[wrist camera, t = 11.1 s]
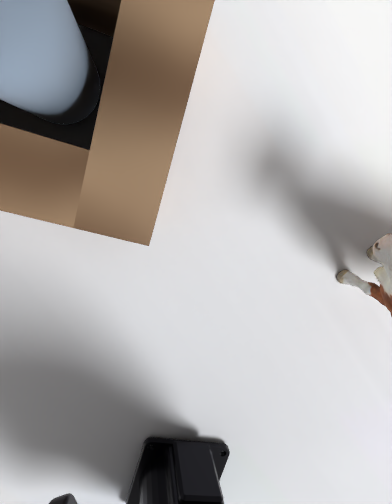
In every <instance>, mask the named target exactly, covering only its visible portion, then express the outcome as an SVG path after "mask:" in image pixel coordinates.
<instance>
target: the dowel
mask: <svg viewBox="0 0 392 504" xmlns="http://www.w3.org/2000/svg"><path fill="white" fill-rule="evenodd" d="M99 94H100V79H99V75H98V72H97V69H96V66H95V64H94V62H93V59H92V57H91V55H90V52H89V50H88V48H87V45H86V43H85V41H84V39H83V36H82V34H81V32H80V29H79V27H78V25H77V22H76V20H75V18H74V15H73V13H72V11H71V8H70V6H69V4H68V1H67V0H0V99H1V100H3V101H5V102H7V103H9V104H12V105H14V106H16V107H18V108H20V109H22V110H25V111H27V112H29V113H31V114H33V115H35V116H38V117H40V118H42V119H44V120H46V121H49V122H52V123H55V124H65V125H66V124H73V123H76V122H79V121H81V120H83V119H84V118H86V117H87V116H88V115H89V114H90V113H91V112H92V111H93V109H94V108H95V106H96V104H97V102H98V99H99Z"/></svg>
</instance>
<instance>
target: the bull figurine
mask: <svg viewBox="0 0 392 504" xmlns="http://www.w3.org/2000/svg"><path fill="white" fill-rule="evenodd" d="M367 255H368V257H369V258H370V259H371V260H373V261H375V262H379V263H380V264H382V265H383V267H379V268H377V269H376V270H375V271H374V274H375V276H376V278H377V279H378V281H379V282H380V287H379V286H378V285H376V284H375V283H371V282H367V281H364V280H362V279H360V278H359V277H358V276H356V275H355V274H353V273H351V272H349V271H348V270H342V271H341V272H339V274H338V276H337V280H338V282H339V283H342V284H346V285H351V286H355V287H358V288H360V289H361V290H362V291H363V292H364V293H365V294H367V295H369V296H372V297H373V298H375V299H376V300H378V301H379V302H380V303H381V304H382V305H384V306H386V307H387V309H388V310H389V311H390V312H391V316H392V234H386V235H385V236H383V237H382V238H380V239H379V240H377V241H376V242H375V243H374V245H373V246H372V247H370V248H369V249H368V251H367Z"/></svg>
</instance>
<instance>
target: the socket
mask: <svg viewBox="0 0 392 504" xmlns="http://www.w3.org/2000/svg"><path fill="white" fill-rule="evenodd" d="M67 1H68V4H69V6H70V8H71V11H72V13H73V15H74V18H75V20H76V22H77V23H78V24H80V25H83V26H85V27H88V28H91V29H93V30H96V31H98V32H101V33H103V34H106V35H108V36H111V37H114V38H113V42H112V47H111V52H110V57H109V61H108V66H107V71H106V76H105V80H104V85H103V90H102V94H101V99H100V104H99V109H98V113H97V118H96V123H95V128H94V132H93V137H92V142H91V147H90V150H89V149H85V148H82V147H79V146H75V145H72V144H69V143H65V142H62V141H59V140H55V139H52V138H49V137H45V136H42V135H39V134H35V133H32V132H29V131H25V130H22V129H19V128H15V127H12V126H9V125H5V124H2V123H0V210H1V211H5V212H9V213H13V214H18V215H22V216H26V217H30V218H34V219H38V220H43V221H47V222H51V223H55V224H59V225H63V226H68V227H72V228H76V229H80V230H84V231H88V232H93V233H97V234H101V235H105V236H109V237H113V238H118V239H122V240H126V241H130V242H134V243H138V244H143V245H147V246H149V244H150V240H151V236H152V232H153V229H154V225H155V221H156V217H157V214H158V210H159V206H160V203H161V199H162V195H163V191H164V188H165V184H166V180H167V176H168V173H169V169H170V165H171V161H172V158H173V154H174V150H175V146H176V143H177V139H178V135H179V131H180V128H181V124H182V120H183V116H184V113H185V109H186V105H187V102H188V98H189V94H190V90H191V87H192V83H193V79H194V75H195V72H196V68H197V64H198V60H199V57H200V53H201V49H202V45H203V42H204V38H205V34H206V30H207V27H208V23H209V19H210V15H211V12H212V8H213V4H214V1H215V0H67Z"/></svg>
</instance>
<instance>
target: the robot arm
mask: <svg viewBox="0 0 392 504" xmlns="http://www.w3.org/2000/svg"><path fill="white" fill-rule="evenodd" d="M150 445H152V446H150ZM222 451H223V452H222ZM229 453H230V452H229V449H228V446H227V445H226V444H220V443H209V442H198V441H187V440H176V439H165V438H154V437H151V438H148V439H146V440H145V442H144V445H143V448H142V451H141V454H140V458H139V461H138V464H137V467H136V471H135V474H134V477H133V480H132V484H131V487H130V490H129V494H128V497H127V500H126V504H224V501H223V495H222V491H221V487H220V483H219V480H220V477H221V475H222V472H223V470H224V467H225V464H226V462H227V459H228V456H229ZM49 504H77V502H76V500H75V498H74V496H73V495H72V494H70V493H69V494H65V495H62V496H59V497H56V498H54V499H53V500H51V502H50V503H49Z"/></svg>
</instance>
